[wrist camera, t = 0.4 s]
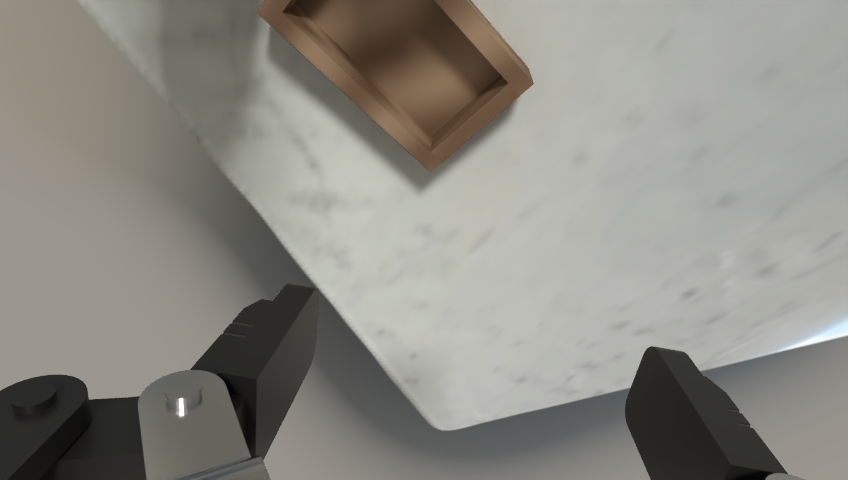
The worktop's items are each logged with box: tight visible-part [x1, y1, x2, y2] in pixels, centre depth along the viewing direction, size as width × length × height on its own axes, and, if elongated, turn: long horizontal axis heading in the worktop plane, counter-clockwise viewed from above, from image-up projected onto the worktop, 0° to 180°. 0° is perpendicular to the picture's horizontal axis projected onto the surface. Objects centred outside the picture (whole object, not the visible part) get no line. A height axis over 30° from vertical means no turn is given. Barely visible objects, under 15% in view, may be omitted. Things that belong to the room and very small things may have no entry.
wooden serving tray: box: [257, 0, 534, 172], centre depth 33 cm, size 16×10×4 cm, turn 45°
